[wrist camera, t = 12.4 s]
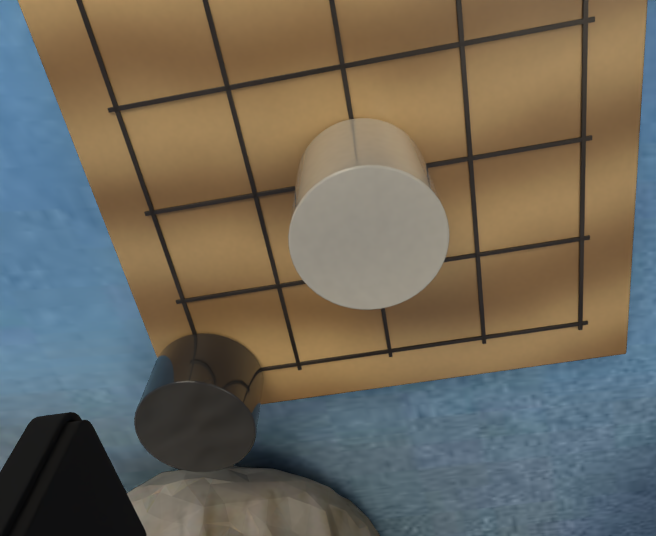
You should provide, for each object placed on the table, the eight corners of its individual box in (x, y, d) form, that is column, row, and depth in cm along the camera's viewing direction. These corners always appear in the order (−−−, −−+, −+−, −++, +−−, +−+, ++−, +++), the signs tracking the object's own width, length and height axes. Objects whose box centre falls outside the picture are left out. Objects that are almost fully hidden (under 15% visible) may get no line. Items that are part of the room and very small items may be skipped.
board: (10, -73, 20) (-14, -73, 19) (638, -211, 18) (663, -222, 17) (186, 394, 30) (179, 418, 28) (613, 334, 28) (628, 355, 26)
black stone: (139, 341, 26) (116, 391, 23) (249, 325, 26) (239, 373, 23) (173, 425, 29) (156, 479, 26) (274, 411, 28) (268, 465, 25)
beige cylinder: (284, 130, 22) (271, 181, 17) (419, 106, 21) (442, 152, 17) (310, 249, 24) (305, 321, 20) (433, 229, 24) (456, 298, 19)
